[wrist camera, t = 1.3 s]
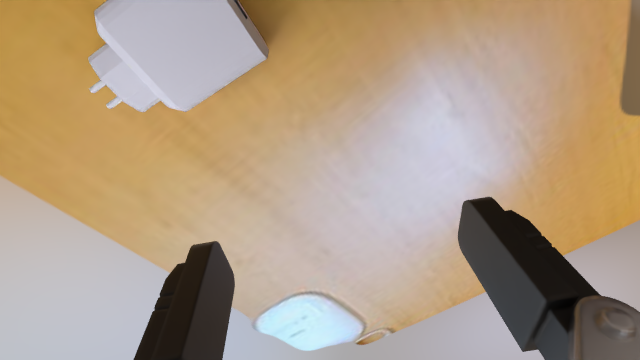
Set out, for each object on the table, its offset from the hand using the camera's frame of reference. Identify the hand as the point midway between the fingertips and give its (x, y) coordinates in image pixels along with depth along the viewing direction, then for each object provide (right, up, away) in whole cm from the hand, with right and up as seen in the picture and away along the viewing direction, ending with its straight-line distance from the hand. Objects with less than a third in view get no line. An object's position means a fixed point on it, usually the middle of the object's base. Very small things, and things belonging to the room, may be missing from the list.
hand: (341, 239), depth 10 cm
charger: (-14, +14, +18) cm, 27 cm away
